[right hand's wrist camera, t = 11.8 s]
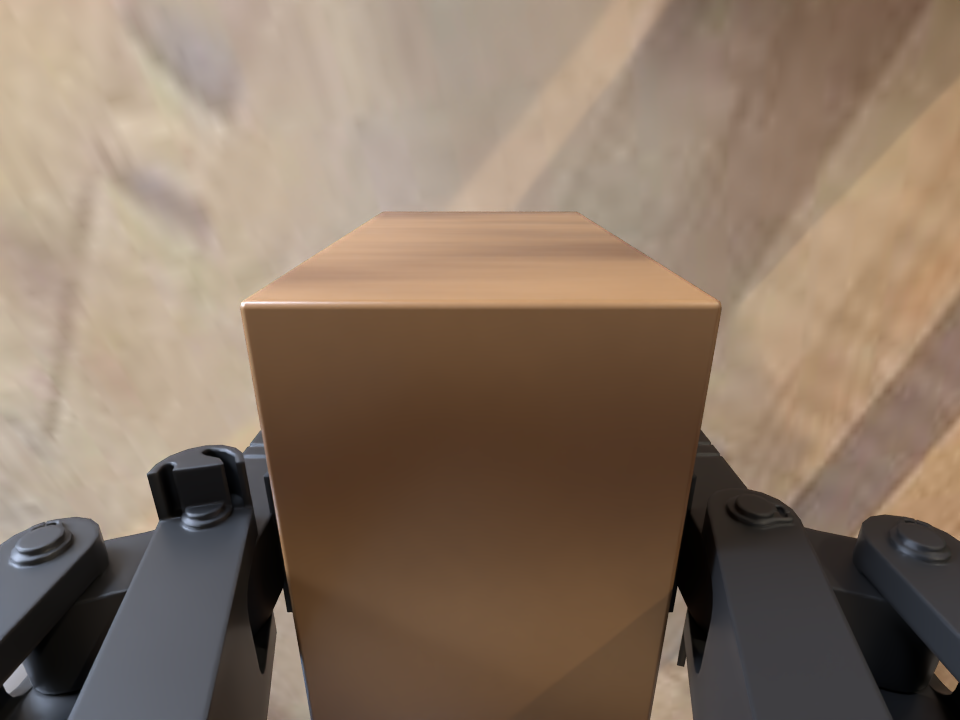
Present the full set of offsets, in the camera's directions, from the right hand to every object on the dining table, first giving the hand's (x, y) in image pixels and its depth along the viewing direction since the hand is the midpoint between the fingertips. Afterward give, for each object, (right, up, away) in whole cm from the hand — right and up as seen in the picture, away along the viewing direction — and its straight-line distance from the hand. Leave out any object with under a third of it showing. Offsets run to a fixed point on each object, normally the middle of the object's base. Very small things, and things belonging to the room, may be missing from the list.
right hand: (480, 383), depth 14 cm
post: (0, -30, +12) cm, 32 cm away
